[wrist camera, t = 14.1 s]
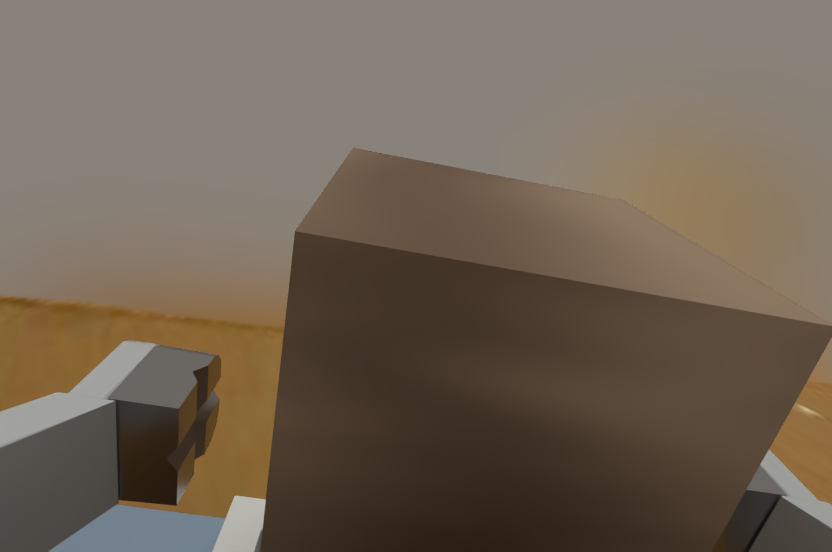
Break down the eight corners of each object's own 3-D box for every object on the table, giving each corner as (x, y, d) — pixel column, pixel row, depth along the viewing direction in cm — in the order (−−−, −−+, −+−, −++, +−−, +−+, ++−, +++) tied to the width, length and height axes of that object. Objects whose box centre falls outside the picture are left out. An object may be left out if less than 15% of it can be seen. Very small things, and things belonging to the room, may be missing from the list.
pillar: (473, 630, 14) (623, 200, 9) (506, 916, 9) (836, 326, 5) (286, 609, 13) (353, 148, 9) (221, 899, 9) (295, 230, 4)
